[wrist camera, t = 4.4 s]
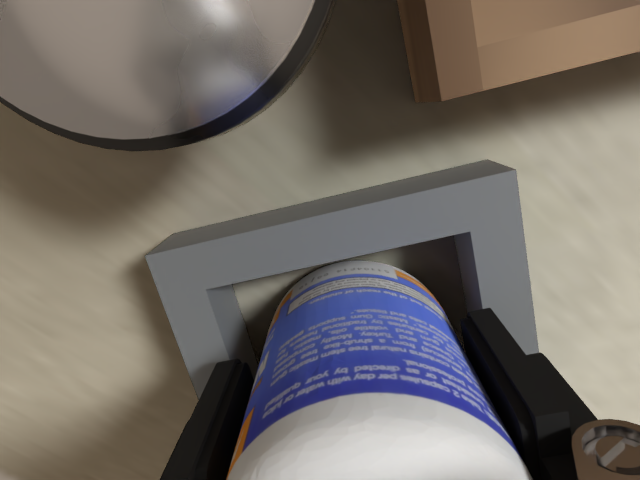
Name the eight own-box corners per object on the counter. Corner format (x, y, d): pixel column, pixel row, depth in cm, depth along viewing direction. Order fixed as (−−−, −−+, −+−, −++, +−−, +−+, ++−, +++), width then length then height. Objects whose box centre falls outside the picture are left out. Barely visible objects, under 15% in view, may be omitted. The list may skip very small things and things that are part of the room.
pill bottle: (244, 286, 13) (27, 702, 4) (421, 231, 13) (653, 580, 3) (305, 431, 15) (247, 990, 5) (467, 390, 14) (718, 946, 5)
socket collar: (487, 159, 12) (516, 169, 10) (526, 433, 14) (555, 483, 13) (173, 233, 13) (144, 255, 11) (259, 479, 15) (248, 532, 13)
